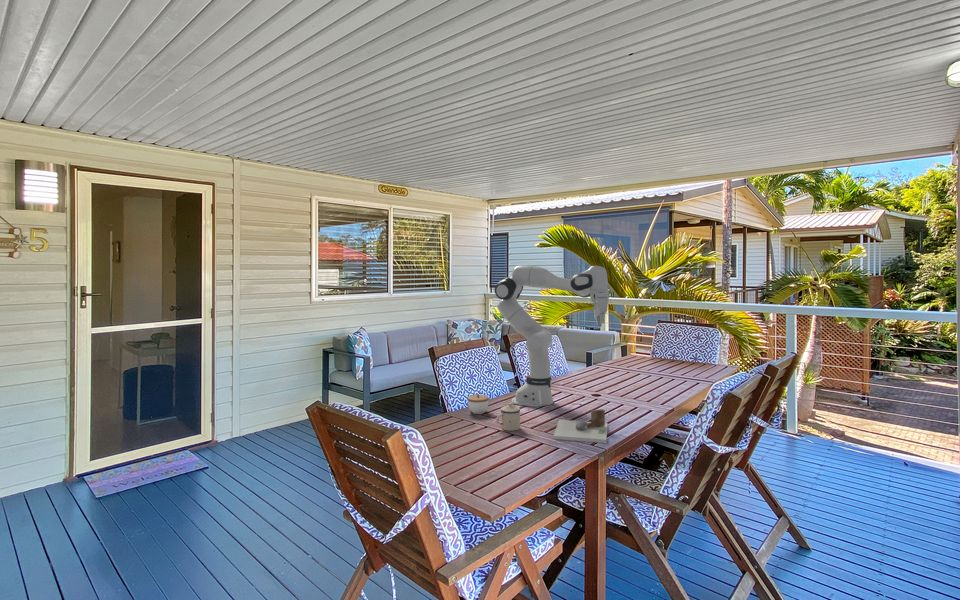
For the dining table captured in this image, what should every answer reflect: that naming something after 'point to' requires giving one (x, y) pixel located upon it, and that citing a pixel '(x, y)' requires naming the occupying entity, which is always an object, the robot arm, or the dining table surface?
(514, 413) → the teacup with lid
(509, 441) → the dining table surface
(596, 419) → the tuning peg
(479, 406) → the lidded jar
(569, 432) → the plate
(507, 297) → the robot arm
